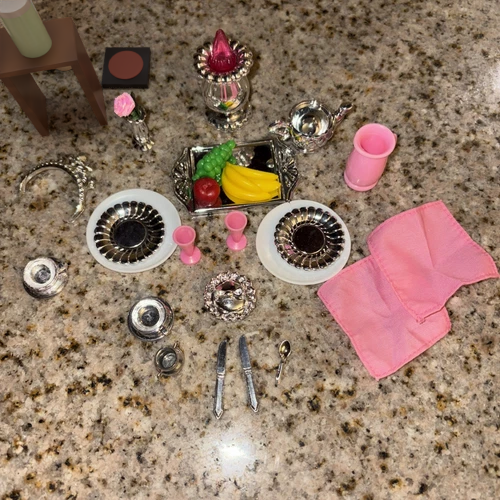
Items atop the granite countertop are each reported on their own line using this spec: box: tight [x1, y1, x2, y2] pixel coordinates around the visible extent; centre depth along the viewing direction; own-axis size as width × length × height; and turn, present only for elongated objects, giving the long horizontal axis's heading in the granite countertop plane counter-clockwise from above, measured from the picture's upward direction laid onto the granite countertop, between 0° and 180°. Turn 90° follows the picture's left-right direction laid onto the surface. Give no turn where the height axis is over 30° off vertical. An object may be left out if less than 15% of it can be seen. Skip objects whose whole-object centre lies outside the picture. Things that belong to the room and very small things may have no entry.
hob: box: [100, 46, 152, 89], centre depth 109 cm, size 10×10×2 cm
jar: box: [0, 0, 52, 58], centre depth 82 cm, size 6×6×10 cm
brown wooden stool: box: [0, 16, 109, 138], centre depth 97 cm, size 14×10×20 cm
